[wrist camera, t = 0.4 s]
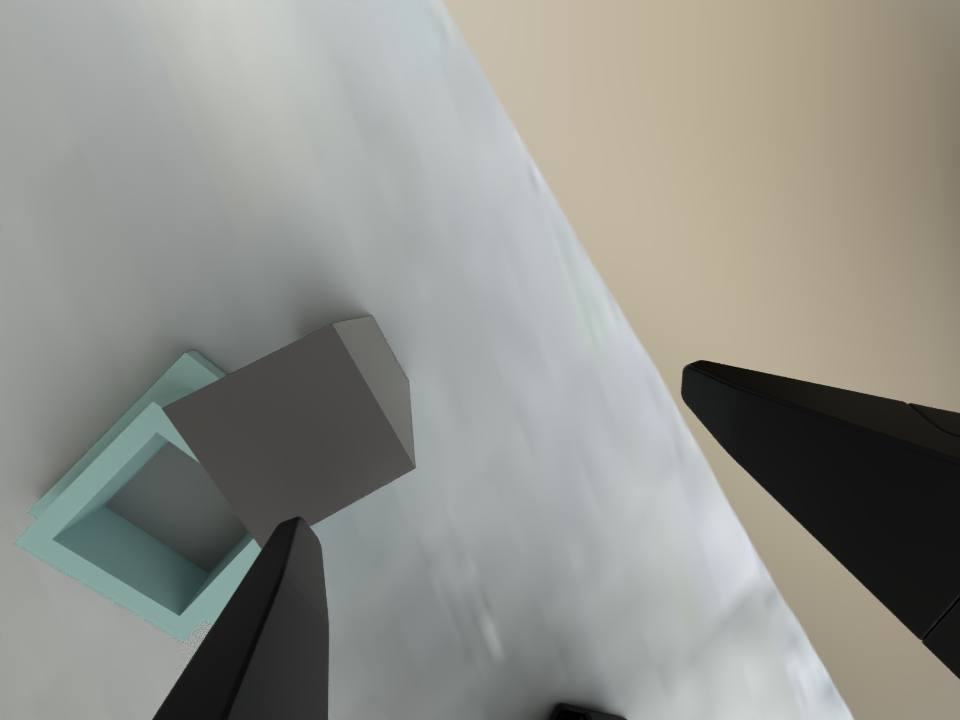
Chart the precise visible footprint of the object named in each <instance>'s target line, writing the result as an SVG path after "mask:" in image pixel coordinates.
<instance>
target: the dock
mask: <svg viewBox="0 0 960 720" xmlns="http://www.w3.org/2000/svg"><path fill="white" fill-rule="evenodd" d="M225 376H227V375H226V374H225V373H224V372H222V371H221V370H220V369H219V368H217V367H216V366H215V365H213V364H212V363H211V362H210V361H208V360H207V359H206V358H205V357H203V356H202V355H201V354H199V353H198V352H197V351H196V350H195V351H190V352H185V353H184V354H183V355H182V356H181V357H180V358H179V359H178V360H177V361H176V362H175V363H174V364H173V365H172V366H171V367H170V368H169V369H168V370H167V371H166V372H165V373H164V374H163V375H162V376H161V377H160V378H159V379H158V380H157V381H156V383H155V384H154V385H153V386H152V387H151V388H150V389H149V390H148V391H147V392H146V393H145V394H144V395H143V396H142V397H141V398H140V399H139V400H138V401H137V402H136V403H135V404H134V405H133V406H132V407H131V408H130V409H129V410H128V411H127V412H126V413H125V414H124V415H123V416H122V417H121V418H120V419H119V420H118V421H117V422H116V423H115V424H114V425H113V426H112V427H111V428H110V429H109V430H108V431H107V432H106V433H105V434H104V435H103V436H102V437H101V438H100V439H99V440H98V441H97V442H96V443H95V444H94V445H93V446H92V447H91V448H90V449H89V450H88V451H87V452H86V453H85V454H84V455H83V456H82V457H81V458H80V459H79V460H78V462H77V463H76V464H75V465H74V466H73V467H72V468H71V469H70V470H69V471H68V472H67V473H66V474H65V475H64V476H63V477H62V478H61V479H60V480H59V481H58V482H57V483H56V484H55V485H54V486H53V487H52V488H51V489H50V490H49V491H48V492H47V493H46V494H45V495H44V496H43V497H42V498H41V499H40V500H39V501H38V502H37V503H36V504H35V505H34V506H33V507H32V508H31V509H30V510H29V511H28V512H27V513H29V514H30V515H32V516H33V517H35V518H37V519H36V520H35V521H34V522H33V523H32V524H31V525H30V526H29V527H28V528H27V529H26V531H25V532H24V533H23V534H22V535H21V536H20V537H19V538H18V539H17V540H16V541H15V542H14V543H13V544H15V545H17V546H19V547H20V548H22V549H24V550H25V551H27V552H29V553H31V554H32V555H34V556H36V557H37V558H39V559H41V560H42V561H44V562H46V563H48V564H49V565H51V566H53V567H54V568H56V569H58V570H60V571H61V572H63V573H65V574H66V575H68V576H70V577H71V578H73V579H75V580H77V581H78V582H80V583H82V584H83V585H85V586H87V587H89V588H90V589H92V590H94V591H95V592H97V593H99V594H100V595H102V596H104V597H106V598H107V599H109V600H111V601H112V602H114V603H116V604H117V605H119V606H121V607H123V608H124V609H126V610H128V611H129V612H131V613H133V614H135V615H136V616H138V617H140V618H141V619H143V620H145V621H146V622H148V623H150V624H152V625H153V626H155V627H157V628H158V629H160V630H162V631H164V632H165V633H167V634H169V635H170V636H172V637H174V638H175V639H177V640H179V641H181V642H182V643H183V642H184V641H185V640H186V639H187V638H188V637H189V636H190V635H191V634H192V633H193V632H194V631H195V629H196V628H197V627H198V626H199V625H200V624H201V623H202V622H203V621H206V622H207V623H209V624H211V625H212V626H213V624H214V623H215V621H216V620H217V618H218V617H219V615H220V613H221V612H222V610H223V609H224V607H225V606H226V604H227V603H228V601H229V599H230V598H231V596H232V595H233V593H234V592H235V590H236V589H237V587H238V586H239V584H240V582H241V581H242V579H243V578H244V576H245V575H246V573H247V572H248V570H249V568H250V567H251V565H252V564H253V562H254V561H255V559H256V558H257V556H258V554H259V553H260V551H261V548H260V547H259V545H258V544H257V542H256V541H255V540H254V538H253V537H252V535H251V534H250V533H249V531H248V530H247V528H246V527H245V526H244V524H243V523H242V521H241V520H240V518H239V517H238V516H237V514H236V513H235V511H234V510H233V509H232V507H231V506H230V504H229V503H228V502H227V500H226V499H225V497H224V496H223V495H222V493H221V492H220V490H219V489H218V487H217V486H216V485H215V483H214V482H213V480H212V479H211V478H210V476H209V475H208V473H207V472H206V471H205V469H204V468H203V466H202V465H201V464H200V462H199V461H198V459H197V458H196V456H195V455H194V454H193V452H192V451H191V449H190V448H189V447H188V445H187V444H186V442H185V441H184V440H183V438H182V437H181V435H180V434H179V433H178V431H177V430H176V428H175V427H174V425H173V424H172V423H171V421H170V420H169V418H168V417H167V416H166V414H165V413H164V411H163V410H162V409H161V408H162V407H164V406H166V405H169V404H171V403H173V402H175V401H177V400H179V399H181V398H183V397H185V396H187V395H189V394H191V393H193V392H195V391H197V390H199V389H201V388H203V387H205V386H207V385H209V384H211V383H213V382H215V381H217V380H219V379H221V378H223V377H225ZM312 526H313V525H312ZM312 526H310V528H311V527H312Z"/></svg>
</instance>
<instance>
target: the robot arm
mask: <svg viewBox="0 0 960 720" xmlns="http://www.w3.org/2000/svg"><path fill="white" fill-rule="evenodd" d="M681 395H682V398H683V400H684V402H685V403H686V405H687V406H688V407H689V408H690V409H691V410H692V412H693V413H694V414H695V415H696V416H697V418H698V419H699V420H700V421H701V422H702V424H703V425H704V426H705V427H706V428H707V429H708V431H709V432H710V433H711V434H712V435H713V437H714V438H715V439H716V440H717V441H718V443H719V444H720V445H721V446H722V447H723V448H724V449H725V450H726V452H727V453H728V454H730V456H731V457H733V459H734V460H735V461H736V462H737V463H738V464H739V465H740V466H741V467H743V468H744V470H746V471H747V472H748V473H749V474H750V475H751V476H752V477H753V478H754V479H755V480H756V481H757V482H758V483H759V484H760V485H761V486H762V487H763V488H764V489H765V490H766V491H767V492H768V493H769V494H770V495H771V496H772V497H773V498H774V499H775V500H776V501H777V502H778V503H780V504H781V506H783V507H784V508H785V509H786V510H787V511H788V512H789V513H790V514H791V515H792V516H793V517H794V518H795V519H796V520H797V521H798V522H799V523H800V524H801V525H802V526H803V527H804V528H805V529H806V530H807V531H808V532H809V533H810V534H811V535H812V536H813V537H814V538H815V539H816V540H818V542H819V543H821V544H822V545H823V546H824V547H825V548H826V549H827V550H828V551H829V552H830V553H831V554H832V555H833V556H834V557H835V558H836V559H837V560H838V561H839V562H840V563H841V564H842V565H843V566H844V567H845V568H846V569H847V570H848V571H849V572H850V573H852V575H853V576H854V577H856V579H858V580H859V581H860V582H861V583H862V584H863V585H864V586H865V587H866V588H867V589H868V590H869V591H870V592H871V593H872V594H873V595H874V596H875V597H876V598H877V599H878V600H879V601H880V602H881V603H882V604H883V605H884V606H885V607H886V608H887V609H888V610H890V612H892V614H893V615H895V616H896V617H897V618H898V619H899V620H900V621H901V622H902V623H903V624H904V625H905V626H906V627H907V628H908V629H909V630H910V631H911V632H912V633H913V634H914V635H915V636H916V637H917V638H918V639H920V640H922V643H923V644H924V645H925V646H926V647H927V648H928V649H929V650H930V651H931V652H932V653H933V654H934V655H935V656H936V657H937V658H938V659H939V660H940V661H941V662H942V663H943V664H945V665H946V666H947V667H948V668H949V669H950V670H951V671H952V672H953V673H954V674H955V675H956V676H957V677H958V678H959V679H960V413H957V412H951V411H947V410H941V409H936V408H932V407H927V406H922V405H918V404H913V403H909V404H906V403H905V402H903V401H898V400H893V399H888V398H884V397H878V396H874V395H868V394H864V393H859V392H855V391H850V390H845V389H840V388H835V387H830V386H826V385H821V384H815V383H811V382H806V381H802V380H797V379H792V378H787V377H782V376H777V375H772V374H767V373H763V372H758V371H753V370H749V369H744V368H739V367H734V366H729V365H724V364H720V363H714V362H710V361H705V360H699V361H696V362H693V363H691V364H688V365H686V366H685V367H684V369H683V374H682V386H681ZM328 672H329V621H328V608H327V598H326V588H325V578H324V568H323V558H322V548H321V544H320V541H319V539H318V537H317V536H316V535H315V533H314V532H313V531H312V529H311V528H310V527H309V525H308V524H307V523H306V521H305V520H304V519H303V518H302V517H300V516H296V517H294V518H291V519H289V520H286V521H283V522H281V523H280V524H278V525H277V527H276V528H275V530H274V531H273V533H272V534H271V536H270V537H269V539H268V540H267V542H266V544H265V545H264V547H263V548H262V550H261V551H260V553H259V554H258V556H257V558H256V559H255V561H254V562H253V564H252V565H251V567H250V568H249V570H248V572H247V573H246V575H245V576H244V578H243V579H242V581H241V582H240V584H239V586H238V587H237V589H236V590H235V592H234V593H233V595H232V596H231V598H230V599H229V601H228V603H227V604H226V606H225V607H224V609H223V610H222V612H221V613H220V615H219V617H218V618H217V620H216V621H215V623H214V624H213V626H212V627H211V629H210V631H209V632H208V634H207V635H206V637H205V638H204V640H203V641H202V643H201V645H200V646H199V648H198V649H197V651H196V652H195V654H194V655H193V657H192V659H191V660H190V662H189V663H188V665H187V666H186V668H185V669H184V671H183V673H182V674H181V676H180V677H179V679H178V680H177V682H176V683H175V685H174V687H173V688H172V690H171V691H170V693H169V694H168V696H167V697H166V699H165V700H164V702H163V704H162V705H161V707H160V708H159V710H158V711H157V713H156V714H155V716H154V718H153V719H152V720H328ZM550 720H627V719H624V718H620V717H616V716H612V715H607V714H603V713H599V712H595V711H591V710H587V709H583V708H579V707H574V706H570V705H566V704H560V705H558V706H557V707H556V708H555V710H554V712H553V714H552V716H551V718H550Z"/></svg>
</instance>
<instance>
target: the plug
mask: <svg viewBox="0 0 960 720" xmlns="http://www.w3.org/2000/svg"><path fill="white" fill-rule="evenodd" d="M161 409H162V410H163V411H164V413H165V414H166V416H167V417H168V418H169V420H170V421H171V423H172V424H173V425H174V427H175V428H176V430H177V431H178V433H179V434H180V435H181V437H182V438H183V440H184V441H185V442H186V444H187V445H188V447H189V448H190V449H191V451H192V452H193V454H194V455H195V456H196V458H197V459H198V461H199V462H200V464H201V465H202V466H203V468H204V469H205V471H206V472H207V473H208V475H209V476H210V478H211V479H212V480H213V482H214V483H215V485H216V486H217V487H218V489H219V490H220V492H221V493H222V495H223V496H224V497H225V499H226V500H227V502H228V503H229V504H230V506H231V507H232V509H233V510H234V511H235V513H236V514H237V516H238V517H239V518H240V520H241V521H242V523H243V524H244V526H245V527H246V528H247V530H248V531H249V533H250V534H251V535H252V537H253V538H254V540H255V541H256V542H257V544H258V545H259V547H260V548H261V550H262V548H263V547H264V545H265V544H266V542H267V540H268V539H269V537H270V536H271V534H272V533H273V531H274V530H275V528H276V527H277V525H278V524H280V523H281V522H283V521H286V520H289V519H291V518H294V517H296V516H300V517H302V518H303V519H304V520H305V521H306V523H307V524H308V525H309V527H310V526H312V525H314V524H316V523H318V522H319V521H321V520H323V519H325V518H327V517H328V516H330V515H332V514H334V513H336V512H337V511H339V510H341V509H343V508H345V507H346V506H348V505H350V504H352V503H354V502H355V501H357V500H359V499H361V498H363V497H364V496H366V495H368V494H370V493H372V492H373V491H375V490H377V489H379V488H381V487H382V486H384V485H386V484H388V483H390V482H391V481H393V480H395V479H397V478H399V477H400V476H402V475H404V474H406V473H408V472H409V471H411V470H413V469H415V468H416V467H415V454H414V440H413V427H412V414H411V401H410V388H409V381H408V379H407V377H406V375H405V373H404V372H403V370H402V368H401V366H400V364H399V363H398V361H397V359H396V357H395V355H394V353H393V352H392V350H391V348H390V346H389V344H388V343H387V341H386V339H385V337H384V335H383V334H382V332H381V330H380V328H379V326H378V324H377V323H376V321H375V319H374V317H373V315H371V316H366V317H361V318H356V319H351V320H346V321H341V322H336V323H332V324H330V325H328V326H326V327H324V328H322V329H320V330H318V331H316V332H314V333H312V334H310V335H308V336H306V337H304V338H302V339H300V340H297V341H295V342H293V343H291V344H289V345H287V346H285V347H283V348H281V349H279V350H277V351H275V352H273V353H271V354H269V355H267V356H265V357H263V358H261V359H259V360H257V361H255V362H253V363H251V364H249V365H247V366H245V367H243V368H241V369H239V370H237V371H235V372H233V373H231V374H229V375H227V376H225V377H223V378H221V379H219V380H217V381H215V382H213V383H211V384H209V385H207V386H205V387H203V388H201V389H199V390H197V391H195V392H193V393H191V394H189V395H187V396H185V397H183V398H181V399H179V400H177V401H175V402H173V403H171V404H169V405H166V406H164V407H162V408H161Z"/></svg>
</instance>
